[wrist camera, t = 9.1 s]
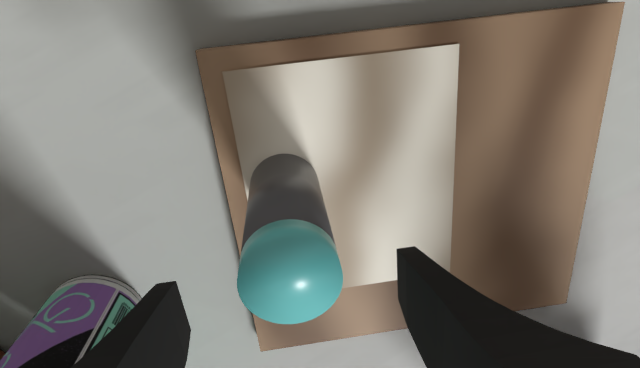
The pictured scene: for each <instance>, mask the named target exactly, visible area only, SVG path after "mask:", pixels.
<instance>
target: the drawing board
mask: <svg viewBox="0 0 640 368" xmlns="http://www.w3.org/2000/svg"><path fill="white" fill-rule="evenodd" d="M624 4H625V2H605V3H597V4H588V5H579V6H570V7H562V8H553V9H544V10H535V11H527V12H518V13H509V14H500V15H492V16H483V17H474V18H465V19H457V20H448V21H439V22H430V23H422V24H413V25H404V26H395V27H387V28H378V29H369V30H360V31H352V32H343V33H334V34H325V35H317V36H308V37H299V38H290V39H282V40H273V41H264V42H255V43H247V44H238V45H229V46H220V47H211V48H203V49H198V50H196V51H195V52H196V57H197V61H198V66H199V70H200V75H201V80H202V84H203V89H204V93H205V98H206V103H207V107H208V112H209V116H210V121H211V126H212V130H213V135H214V139H215V144H216V148H217V153H218V158H219V162H220V167H221V171H222V176H223V181H224V185H225V190H226V194H227V199H228V203H229V208H230V213H231V217H232V222H233V226H234V231H235V236H236V240H237V245H238V249H239V254H240V255H241V248H242V240H243V233H244V225H245V218H246V210H247V203H248V195H249V188H250V181H251V177H252V174H253V172H254V170H255V168H256V167H257V166H258V165H259V164H260V163H261V162H262V161H263V160H265V159H266V158H268V157H270V156H273V155H277V154H293V155H296V156H299V157H301V158H303V159H305V160H306V161H307V162H309V163H310V164H311V166H312V167H313V168H314V170H315V172H316V174H317V177H318V181H319V184H320V188H321V192H322V196H323V200H324V203H325V207H326V211H327V215H328V218H329V222H330V226H331V230H332V234H333V237H334V241H335V245H336V249H337V253H338V256H339V260H340V264H341V268H342V272H343V285H342V289H341V292H340V294H339V297H338V298H337V300H336V301H335V303H334V304H333V305H332V306H331V307H330V308H329V309H328V310H327V311H326V312H324V313H323V314H322V315H320V316H318V317H316V318H314V319H312V320H309V321H306V322H302V323H298V324H277V323H272V322H269V321H266V320H264V319H261V318H259V317H258V316H256V315H254V314H253V313H252V314H253V318H254V323H255V327H256V332H257V337H258V341H259V346H260V350H261V351H267V350H274V349H280V348H286V347H293V346H299V345H305V344H312V343H318V342H324V341H330V340H337V339H343V338H349V337H356V336H362V335H368V334H375V333H381V332H387V331H394V330H400V329H406V328H408V327H407V325H406V322H405V319H404V316H403V313H402V310H401V307H400V303H399V300H398V285H397V249H399V248H406V247H413V246H415V247H416V248H418V249H419V250H420V251H422V252H423V253H424V254H426V255H427V256H428V257H430V258H431V259H432V260H433V261H435V262H436V263H437V264H439V265H440V266H441V267H443V268H444V269H445V270H447V271H448V272H450V273H451V274H452V275H454V276H455V277H457V278H458V279H460V280H461V281H463V282H464V283H466V284H467V285H469V286H470V287H472V288H473V289H475V290H477V291H478V292H480V293H481V294H483V295H485V296H486V297H488V298H490V299H492V300H493V301H495V302H497V303H499V304H501V305H503V306H505V307H507V308H509V309H511V310H512V311H520V310H526V309H532V308H539V307H545V306H551V305H557V304H564V303H566V301H567V296H568V291H569V286H570V281H571V276H572V270H573V265H574V260H575V255H576V250H577V245H578V240H579V235H580V229H581V224H582V219H583V214H584V209H585V204H586V199H587V193H588V188H589V183H590V178H591V173H592V168H593V163H594V158H595V152H596V147H597V142H598V137H599V132H600V127H601V122H602V116H603V111H604V106H605V101H606V96H607V91H608V86H609V81H610V75H611V70H612V65H613V60H614V55H615V50H616V45H617V39H618V34H619V29H620V24H621V19H622V14H623V9H624Z"/></svg>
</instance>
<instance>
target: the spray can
mask: <svg viewBox="0 0 640 368" xmlns="http://www.w3.org/2000/svg"><path fill="white" fill-rule="evenodd" d="M140 300H141V297H140V296H139V295H138V294H137V293H136V292H135V290H133V289H132V288H131V287H129V286H128V285H126V284H125V283H123V282H121V281H119V280H116V279H113V278H110V277H105V276H97V275H88V276H81V277H77V278H73V279H70V280H68V281H67V282H65V283H63V284H62V285H60V286H59V287H58V288H57V289H56V290H55V291H54V293H52V295H51V296H50V297H49V298H48V300H47V301H46V302H45V304H44V305H43V306H42V307H41V309H40V310H39V311H38V313H37V314H36V315H35V316H34V318H33V319H32V320H31V322H30V323H29V324H28V325H27V327H26V328H25V329H24V331H23V332H22V333H21V334H20V336H19V337H18V338H17V340H16V341H15V342H14V343H13V345H12V346H11V347H10V349H9V350H8V351H7V352H6V354H5V355H4V356H3V358H2V359H1V360H0V368H71V367H72V366H73V365H74V364H75V363H76V362H78V361H79V360H80V359H81V358H82V357H83V356H84V355H86V354H87V353H88V352H89V351H90V350H91V349H92V348H93V347H94V346H95V345H96V344H97V343H98V342H99V341H100V340H102V339H103V338H104V337H105V336H106V335H107V334H108V333H109V332H110V331H111V330H112V329H113V328H114V327H115V326H116V325H117V324H118V323H119V322H120V321H121V320H122V319H123V318H124V317H125V316H126V315H127V314H128V313H129V312H130V311H131V310H132V309H133V308H134V306H135V305H136V304H137V303H138V302H139V301H140Z"/></svg>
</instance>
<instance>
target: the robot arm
mask: <svg viewBox="0 0 640 368" xmlns="http://www.w3.org/2000/svg"><path fill="white" fill-rule="evenodd" d="M397 285H398V300H399V303H400V307H401V310H402V313H403V316H404V319H405V322H406V325H407V327H408V329H409V331H410V333H411V336H412V338H413V340H414V342H415V344H416V346H417V348H418V350H419V352H420V355H421V357H422V359H423V361H424V363H425V365H426V367H427V368H640V358H639V357H638V356H637V355H634V354H631V353H627V352H624V351H620V350H617V349H613V348H610V347H606V346H603V345H599V344H596V343H593V342H589V341H586V340H584V339H581V338H578V337H575V336H572V335H569V334H566V333H564V332H561V331H558V330H556V329H553V328H551V327H548V326H546V325H543V324H541V323H539V322H536V321H534V320H532V319H529V318H527V317H525V316H523V315H521V314H519V313H516V312H514V311H512V310H511V309H509V308H507V307H505V306H503V305H501V304H499V303H497V302H495V301H493V300H492V299H490V298H488V297H486V296H485V295H483V294H481V293H480V292H478V291H477V290H475V289H473V288H472V287H470V286H469V285H467V284H466V283H464V282H463V281H461V280H460V279H458V278H457V277H455V276H454V275H452V274H451V273H450V272H448V271H447V270H445V269H444V268H443V267H441V266H440V265H439V264H437V263H436V262H435V261H433V260H432V259H431V258H430V257H428V256H427V255H426V254H424V253H423V252H422V251H420V250H419V249H418V248H416V247H415V246H413V247H406V248H399V249H397ZM190 332H191V329H190V326H189V322H188V319H187V316H186V313H185V309H184V306H183V303H182V300H181V296H180V293H179V290H178V286H177V283H176V281H173V282H166V283H159V284H156V285H155V286H154V287H153V288H152V289H151V290H150V291H149V292H148V293H147V294H146V295H145V296H144V297H143V298H142V299H141V300H140V301H139V302H138V303H137V304H136V305H135V306H134V308H133V309H132V310H131V311H130V312H129V313H128V314H127V315H126V316H125V317H124V318H123V319H122V320H121V321H120V322H119V323H118V324H117V325H116V326H115V327H114V328H113V329H112V330H111V331H110V332H109V333H108V334H107V335H106V336H105V337H104V338H103V339H102V340H100V341H99V342H98V343H97V344H96V345H95V346H94V347H93V348H92V349H91V350H90V351H89V352H88V353H87V354H86V355H84V356H83V357H82V358H81V359H80V360H79V361H78V362H76V363H75V364H74V365H73V366H72V367H71V368H185V365H186V361H187V355H188V348H189V340H190Z"/></svg>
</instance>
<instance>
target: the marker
mask: <svg viewBox="0 0 640 368" xmlns="http://www.w3.org/2000/svg"><path fill="white" fill-rule="evenodd" d="M342 285H343V272H342V268H341V264H340V260H339V256H338V253H337V249H336V245H335V241H334V237H333V234H332V230H331V226H330V222H329V218H328V215H327V211H326V207H325V203H324V200H323V196H322V192H321V188H320V184H319V181H318V177H317V174H316V172H315V170H314V168H313V167H312V166H311V164H310V163H309V162H307V161H306V160H305V159H303V158H301V157H299V156H296V155H293V154H277V155H273V156H270V157H268V158H266V159H265V160H263V161H262V162H261V163H260V164H259V165H258V166H257V167H256V168H255V170H254V172H253V174H252V177H251V181H250V188H249V195H248V203H247V210H246V218H245V225H244V233H243V240H242V248H241V255H240V263H239V270H238V278H237V288H238V293H239V296H240V298H241V300H242V302H243V303H244V305H245V306H246V307H247V308H248V309H249V311H251V312H252V313H253V314H254V315H256V316H258V317H259V318H261V319H264V320H266V321H269V322H272V323H277V324H298V323H302V322H306V321H309V320H312V319H314V318H316V317H318V316H320V315H322V314H323V313H324V312H326V311H327V310H328V309H329V308H330V307H331V306H332V305H333V304H334V303H335V301H336V300H337V298H338V297H339V294H340V292H341V289H342Z"/></svg>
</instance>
